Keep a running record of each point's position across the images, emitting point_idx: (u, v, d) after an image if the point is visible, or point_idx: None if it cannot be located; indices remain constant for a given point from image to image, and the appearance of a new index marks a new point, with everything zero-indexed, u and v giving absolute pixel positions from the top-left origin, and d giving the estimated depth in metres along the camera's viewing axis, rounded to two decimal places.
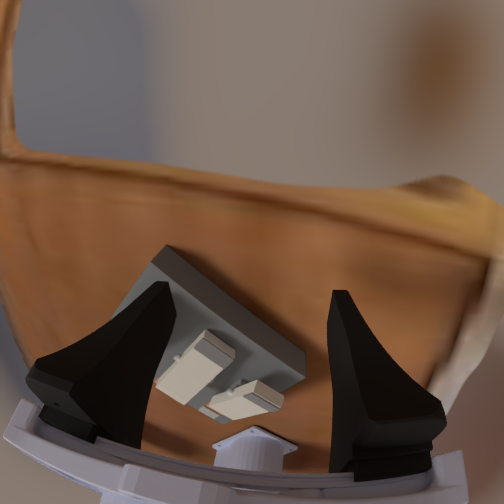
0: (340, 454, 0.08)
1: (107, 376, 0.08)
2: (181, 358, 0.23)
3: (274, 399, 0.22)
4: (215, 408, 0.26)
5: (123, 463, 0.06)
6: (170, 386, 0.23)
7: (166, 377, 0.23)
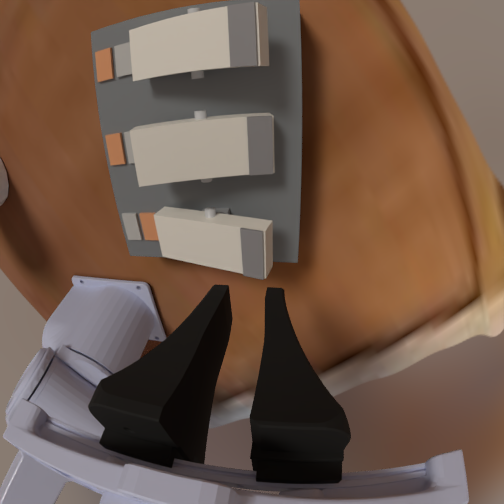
0: None
1: (186, 393, 0.08)
2: (209, 118, 0.14)
3: (268, 260, 0.17)
4: (160, 224, 0.18)
5: (123, 463, 0.06)
6: (151, 145, 0.14)
7: (161, 127, 0.13)
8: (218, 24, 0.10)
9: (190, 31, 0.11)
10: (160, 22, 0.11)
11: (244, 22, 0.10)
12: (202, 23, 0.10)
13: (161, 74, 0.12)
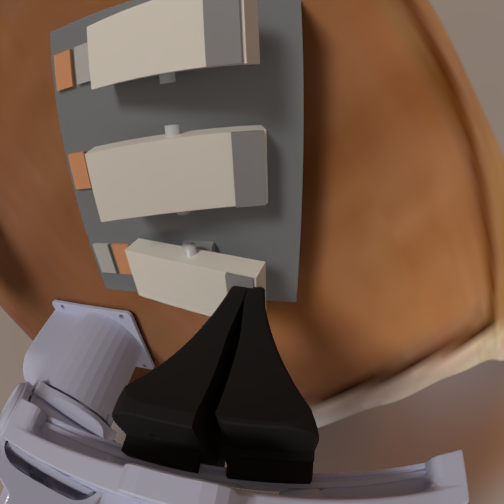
0: None
1: (213, 396, 0.08)
2: (183, 135, 0.11)
3: None
4: (132, 260, 0.15)
5: (123, 463, 0.06)
6: (112, 171, 0.11)
7: (122, 149, 0.10)
8: (191, 10, 0.07)
9: (155, 22, 0.08)
10: (121, 13, 0.08)
11: (224, 5, 0.07)
12: (170, 10, 0.07)
13: (122, 79, 0.09)
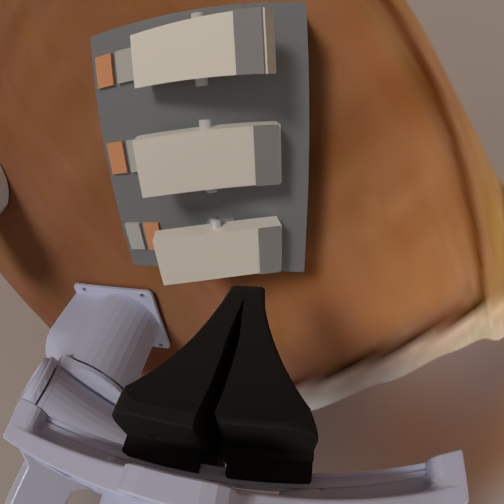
0: None
1: (213, 397, 0.08)
2: (214, 128, 0.13)
3: None
4: (161, 249, 0.16)
5: (123, 463, 0.06)
6: (155, 155, 0.13)
7: (165, 137, 0.13)
8: (224, 30, 0.10)
9: (194, 37, 0.11)
10: (162, 27, 0.11)
11: (250, 28, 0.10)
12: (206, 28, 0.10)
13: (164, 81, 0.12)
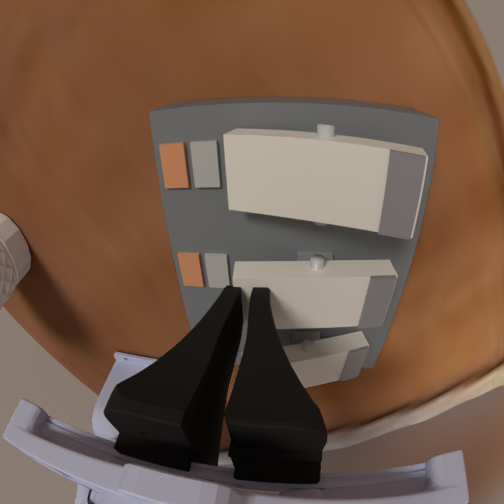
0: None
1: (204, 395, 0.08)
2: (328, 272, 0.12)
3: None
4: None
5: (123, 463, 0.06)
6: None
7: (272, 280, 0.12)
8: (372, 172, 0.09)
9: (328, 169, 0.10)
10: (279, 139, 0.10)
11: (408, 182, 0.09)
12: (348, 163, 0.09)
13: (276, 214, 0.11)
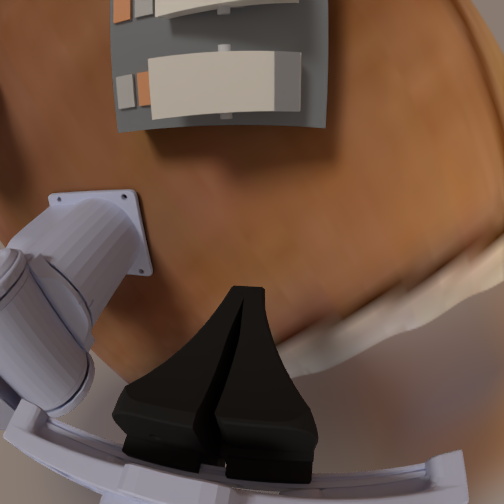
0: None
1: (213, 397, 0.08)
2: None
3: None
4: (156, 69, 0.11)
5: (123, 463, 0.06)
6: None
7: None
8: None
9: None
10: None
11: None
12: None
13: None
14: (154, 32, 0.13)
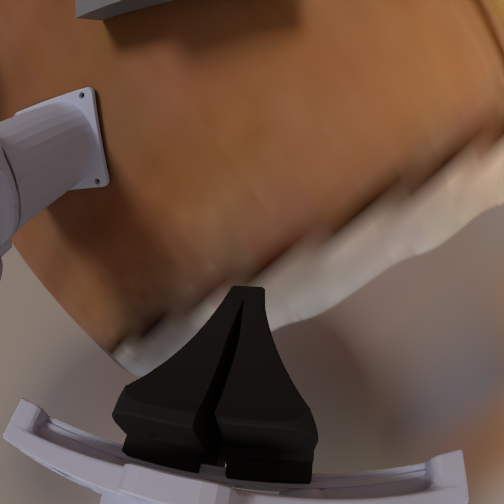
0: None
1: (213, 397, 0.08)
2: None
3: None
4: None
5: (123, 463, 0.06)
6: None
7: None
8: None
9: None
10: None
11: None
12: None
13: None
14: None
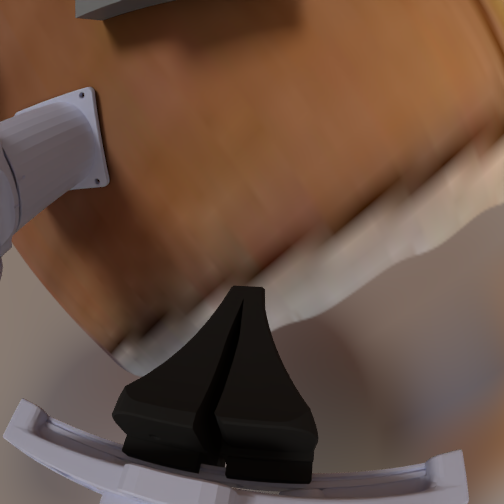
0: None
1: (213, 397, 0.08)
2: None
3: None
4: None
5: (123, 463, 0.06)
6: None
7: None
8: None
9: None
10: None
11: None
12: None
13: None
14: None
